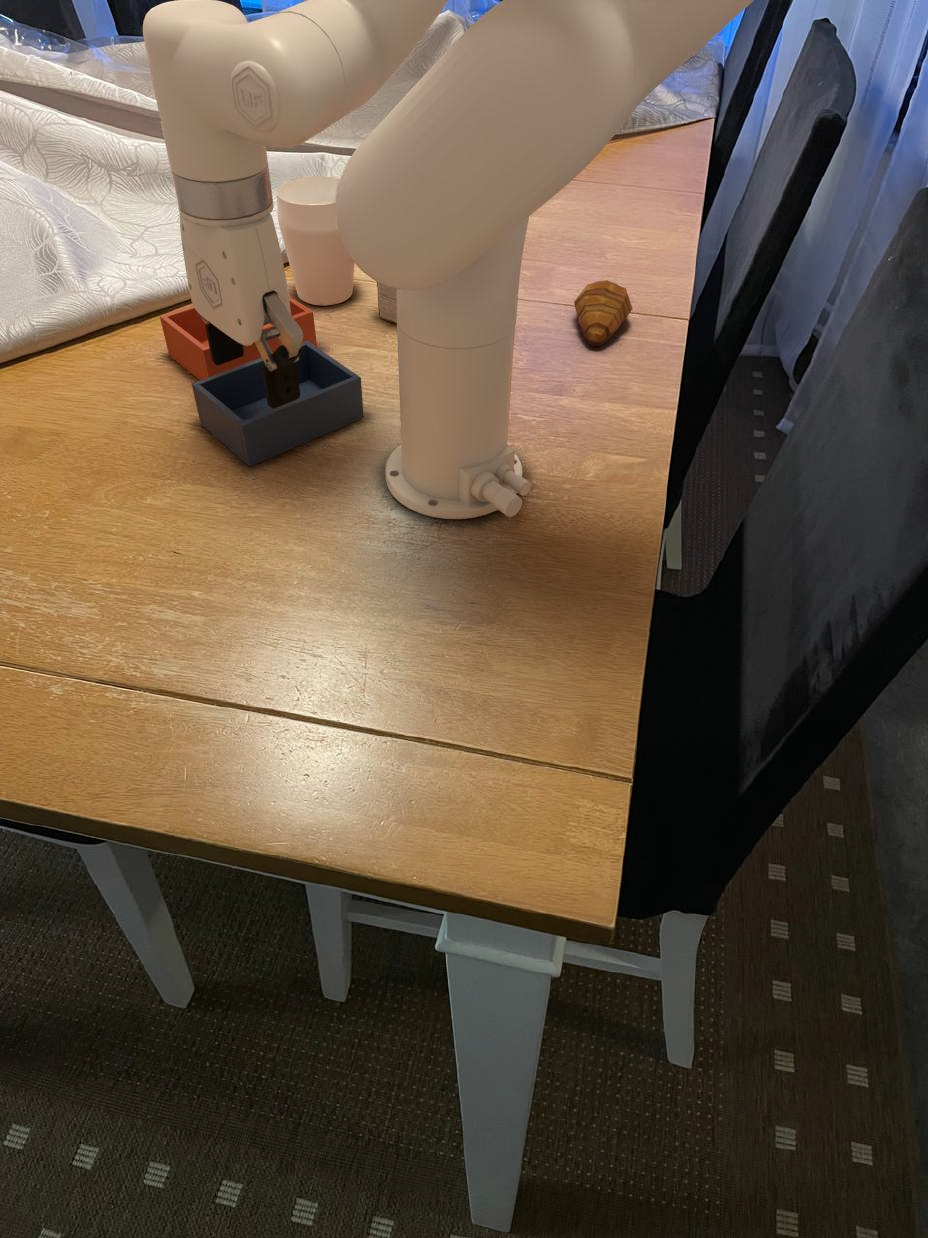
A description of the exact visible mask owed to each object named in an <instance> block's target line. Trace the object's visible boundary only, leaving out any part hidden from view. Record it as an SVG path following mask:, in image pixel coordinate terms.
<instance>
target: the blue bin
mask: <svg viewBox="0 0 928 1238" xmlns="http://www.w3.org/2000/svg"><path fill="white" fill-rule="evenodd" d="M296 364H297V372H298V380H299V387H312V388H315V389H317V390H319V391H317V392H315V393H312V394H310V395H307V396H305V397H302V398H300V399H297V400H295V401H292V402H290V403H288V404H285V405H283V406H280V407H278V408H275V409H273V410H270V411H268V412H265V413H263V414H261V415H258V416H256V417H253V418H251V419H248V420H246V421H244V420H242V419H241V418H240V417H239V416H238V415H241V414H244V413H246V412H249V411H251V410H254V409H257V408H259V407H262V406H264V405H267V398H266V392H265V386H264V380H263V374H262V367H265V366H266V365H265V363H264V361H263V359H262V358H260V359H257V360H254V361H251V362H249V363H246V364H243V365H241V366H238V367H235V368H233V369H230V370H227V371H225V372H222V373H219V374H217V375H214V376H211V377H208V378H206V379H203V380H198V381H195V382H193V383H191V388H192V392H193V397H194V401H195V406H196V409H197V413H198V419H199V423H200V426H202V427H203V428H204V429H206V430H207V431H208V432H209V433H210V434H212V435H213V437H215V438H216V439H217V440H218V441H219V442H221V443H222V444H223V445H224V446H225V447H226V448H227V449H229V450H230V452H232V453H233V454H234V455H236V457H238V458H239V459H240V460H241V461H242V462H243V463H245V464H246V465H247V466H248V467H250V468H251V467H253V466H256V465H257V464H260V463H262V462H264V461H266V460H270V459H271V458H273V457H276V456H278V455H281V454H283V453H285V452H287V451H289V450H293V449H294V448H296V447H299V446H301V445H303V444H306V443H308V442H310V441H312V440H315V439H317V438H319V437H322V436H323V435H327V434H329V433H330V432H334V431H336V430H338V429H340V428H343V427H344V426H345V427H346V426H347V425H350V424H351V423H353V422H355V421H358V420H361V419H363V418H364V402H363V388H362V387H363V386H362V378H361V376H360V375H358V374H357V373H355V372H354V371H352V370H351V369H349V368H348V367H347V366H345V365H343V364H342V363H341V362H339V361H338V360H336V359H335V358H333V357H332V356H330V355H329V354H327V353H326V352H325V351H324V350H322V349H320V348H319V347H318V346H317V347H316V346H314V345H313V344H311V343H310V342H309V341H305V342H303V343H302V344H301V355H300V356H299V361H298V362H296Z"/></svg>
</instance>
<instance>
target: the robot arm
mask: <svg viewBox="0 0 928 1238" xmlns="http://www.w3.org/2000/svg"><path fill="white" fill-rule="evenodd" d="M448 1H449V0H305V1H303V2H299V3H297V4H295V5H292V6H290V7H288V8H285V9H282V10H280V11H277V12H276V13H274V14H272V15H269V16H266V17H263V18H259V19H256V20H253V21H249V22H248V20H247V17H246V16H245V14H244V13H243V12H242V11H241V10H240V9H239V8H238V7H236V6H235V5H233V4H230V3H228V2H224V1H221V0H171V1H166V2H163V3H160V4H158V5H155V6H154V7H152V8H150V10H148V12H147V13H145V16H144V19H143V24H142V36H143V42H144V47H145V52H146V53H145V54H146V57H147V62H148V67H149V72H150V76H151V80H152V86H153V91H154V96H155V101H156V106H157V111H158V116H159V120H160V121H159V122H160V125H161V130H162V135H163V140H164V145H165V150H166V155H167V159H168V163H169V168H170V174H171V178H172V183H173V188H174V193H175V196H176V198H175V199H176V202H177V207H178V215H179V217H178V218H179V231H180V240H181V248H182V255H183V261H184V266H185V274H186V279H187V284H188V290H189V291H188V292H189V296H190V300H191V305H192V306H194V308H195V309H196V311H197V312H198V313H199V314H200V315H201V317H202V319H203V321H204V322H205V323H209V324H207V325H205V328H206V333H207V338H208V343H209V348H210V353H211V358H212V362H213V363H215V364H216V365H221V364H223V363H226V362H229V361H232V360H234V359H237V358H240V357H242V356H243V355H244V350H243V345H245V346H250V345H252V344H253V343H254V342H255V344H256V346H257V348H258V350H259V352H260V354H261V356H262V359H263V361H264V363H265V365H266V366H265V367H262V374H263V380H264V386H265V392H266V398H267V404H268V406H269V407H271V408H272V409H275V408H277V407H280V406H282V405H285V404H287V403H289V402H292V401H294V400H297V399H298V398H299V397H300V388H299V380H298V372H297V364H296V362H298V361H299V356H300V355H301V344H302V340H303V332H302V330H301V328H300V327H299V325H298V324H297V322H296V321H295V320H294V318H293V317H292V316H291V310H290V301H289V296H290V295H289V287H288V283H287V275H286V271H285V266H284V261H283V260H284V259H283V256H282V252H281V251H282V250H281V246H280V242H279V238H278V234H277V230H276V226H275V221H274V218H273V215H272V214H271V213H272V212H273V210H274V198H273V191H272V184H271V183H272V182H271V176H270V175H271V174H270V168H269V161H268V153H267V147H269V148H274V149H289V148H294V147H296V146H297V147H298V146H300V145H302V144H304V143H305V142H307V141H309V140H311V139H313V138H314V137H315V136H317V135H318V134H320V133H321V132H323V131H325V130H327V128H329V127H330V126H332V125H334V124H335V123H336V122H338V121H339V120H342V119H343V118H345V117H346V116H348V115H349V114H351V113H353V112H355V111H356V110H358V109H359V108H361V107H362V106H364V105H365V104H366V103H368V102H369V101H370V100H371V99H372V98H373V97H374V96H375V95H376V94H377V93H378V91H380V90H381V88H382V87H383V86H384V85H385V84H386V82H388V80H389V79H390V78H391V76H393V74H394V73H395V72H396V70H397V69H398V68H399V67H400V65H402V63H403V62H404V61H405V59H407V57H408V56H409V55H410V54H411V52H412V51H413V49H415V47H416V46H417V45H418V43H420V41H421V40H422V39H423V37H424V36H425V34H426V33H427V32H428V31H429V29H430V28H431V27H432V26H433V24H434V23H435V21H436V20H437V18H438V17H439V15H440V14H441V12H442V11H443V10H444V8H445V6H446V4H447V2H448ZM754 1H755V0H501V1H500V2H499V3H497V4H495V6H493V7H491V8H490V9H489V10H488V11H486V12H485V13H484V14H483V15H482V16H480V17H479V18H478V19H477V20H476V21H475V22H474V23H473V24H472V25H471V26H470V27H469V28H468V29H466V31H464V32H463V33H462V34H461V35H460V36H459V37H458V38H457V39H456V41H455V42H454V43H452V44H451V46H449V47H448V49H447V50H446V51H444V53H443V54H442V55H441V56H440V58H439V59H438V60H437V61H436V62H435V63H434V64H433V65H432V66H431V67H430V68H429V70H427V71H426V73H425V74H424V75H422V77H421V78H420V79H419V80H418V81H417V82H416V83H415V84H414V85H413V87H412V88H411V89H410V90H409V91H408V92H407V93H406V94H405V96H403V98H402V99H401V100H400V101H399V102H398V103H397V104H396V105H395V106H394V107H393V109H392V110H390V111H389V113H388V114H387V115H386V116H385V117H384V118H383V119H382V120H381V121H380V122H379V123H378V125H377V126H375V128H374V129H373V130H372V131H371V132H370V133H369V134H368V135H367V137H366V138H365V139H364V140H363V141H362V142H361V143H360V144H359V146H358V147H357V148H356V149H355V150H354V152H353V153H352V155H350V157H349V159H348V161H347V162H346V164H345V166H344V169H343V171H342V172H341V175H340V178H339V179H340V181H339V186H338V190H337V197H336V216H337V224H338V229H339V233H340V236H341V239H342V242H343V244H344V246H345V248H346V251H347V252H348V254H349V256H350V257H351V259H352V260H353V261H354V263H355V264H354V265H355V266H357V268H358V269H359V270H360V271H362V272H363V274H365V275H366V276H367V277H369V278H370V279H371V280H374V281H376V283H377V282H379V283H381V284H383V285H386V286H389V287H392V288H396V289H397V324H396V335H397V337H396V338H397V363H398V364H397V365H398V385H399V386H398V388H399V389H398V390H399V391H398V393H399V420H400V422H399V423H400V444H399V445H398V446H396V447H395V449H393V451H392V452H391V453H390V454H389V456H388V458H387V460H386V463H385V469H384V473H385V483H386V486H387V489H388V491H389V492H390V494H391V495H392V496H393V497H394V499H396V500H397V501H398V503H400V504H401V505H402V506H405V507H406V508H408V509H409V510H411V511H414V512H416V513H419V514H421V515H424V516H427V517H432V518H437V519H445V520H465V519H474V518H478V517H482V516H487V515H488V514H491V513H493V512H496V511H499V512H501V513H502V515H503V514H504V515H505V516H506V517H508V518H512V517H514V516H516V515H517V514H518V513H519V512H520V510H521V508H522V506H523V499H522V497H524V496H525V497H526V496H527V495H528V494H529V493H530V491H531V489H532V482H530V481H529V480H527V479H526V478H524V477H523V473H524V471H523V465H522V462H521V460H520V458H519V456H518V454H516V449H514V448H513V447H512V446H510V445H508V437H509V425H510V424H509V423H510V407H511V393H512V378H513V365H514V350H515V349H514V348H515V336H516V335H515V334H516V325H517V316H518V315H517V313H518V301H519V290H520V289H519V288H520V279H521V270H522V269H521V268H522V261H523V255H524V247H525V242H526V236H527V230H528V225H529V220H530V216H532V215H533V214H534V213H535V212H537V211H538V210H539V209H540V208H542V207H543V206H544V205H545V204H546V203H547V202H549V201H550V200H552V198H554V197H555V196H556V195H558V193H560V192H561V191H562V190H563V189H564V188H566V187H567V185H569V184H570V183H571V182H572V181H573V180H574V179H576V178H577V176H578V175H579V174H581V173H582V172H583V171H584V170H585V169H586V168H587V167H588V166H589V165H590V164H591V163H592V162H593V161H594V160H595V159H596V157H597V156H598V155H599V154H600V153H601V152H602V151H603V150H604V148H605V147H606V146H607V145H608V144H609V142H610V141H611V140H612V139H613V138H614V137H615V136H616V135H617V133H618V132H619V131H620V129H621V128H622V127H623V126H624V125H625V123H626V122H627V121H628V119H629V118H630V117H631V115H632V114H633V113H634V112H635V110H636V109H637V108H638V106H639V105H640V104H641V103H642V102H643V101H644V100H645V99H646V98H647V97H648V96H649V95H650V94H651V93H652V92H653V91H654V90H655V89H657V88H658V87H659V86H660V85H661V84H663V82H664V81H665V80H666V79H668V78H669V77H670V76H671V75H672V74H673V73H674V72H675V71H677V70H678V69H679V68H680V67H681V66H682V65H684V64H685V63H686V62H687V61H688V60H690V59H691V58H692V57H693V56H694V55H696V54H697V53H698V52H699V51H700V50H702V49H703V48H704V47H705V46H706V45H707V44H708V43H709V42H710V41H711V40H713V38H714V37H716V35H718V34H719V33H720V32H721V31H722V30H723V29H724V28H726V27H727V25H729V23H731V22H732V21H733V20H734V19H735V18H736V17H738V15H740V14H741V13H742V12H743V11H744V10H745V9H746V8H748V6H750V5H751V4H752V3H753V2H754ZM266 324H271V325H272V326H274V327H275V328H273V329H270V330H267V331H264V332H262V330H263V325H266ZM275 337H278V339H279V341H280V343H281V346H279V347H278V348H277V349H276V350H275V352H274V353H273V354H272V352H271V350H270V348H269V345H268V343H267V340H270V339H272V338H275ZM517 494H519V495H520V496H522V497H520V496H519V495H517Z"/></svg>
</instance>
